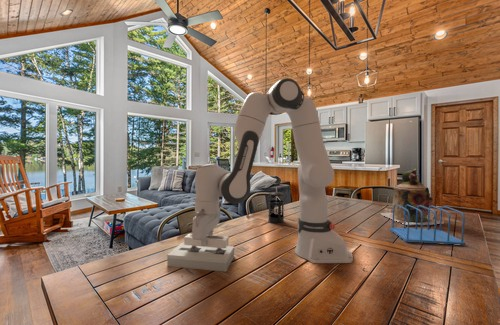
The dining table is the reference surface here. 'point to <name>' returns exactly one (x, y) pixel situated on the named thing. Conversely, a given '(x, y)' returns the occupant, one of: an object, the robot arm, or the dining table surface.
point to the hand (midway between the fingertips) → (206, 243)
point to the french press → (276, 217)
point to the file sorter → (427, 234)
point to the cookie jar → (411, 200)
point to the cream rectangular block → (208, 242)
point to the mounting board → (200, 258)
